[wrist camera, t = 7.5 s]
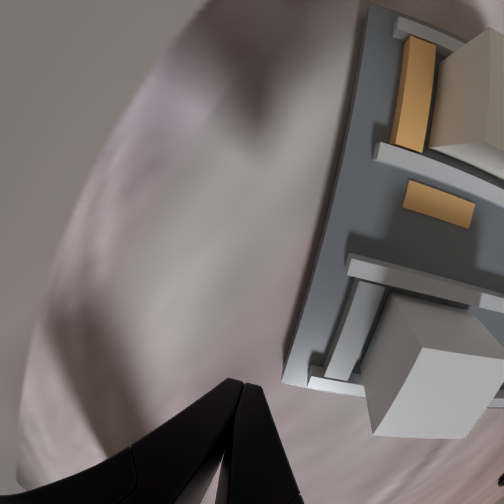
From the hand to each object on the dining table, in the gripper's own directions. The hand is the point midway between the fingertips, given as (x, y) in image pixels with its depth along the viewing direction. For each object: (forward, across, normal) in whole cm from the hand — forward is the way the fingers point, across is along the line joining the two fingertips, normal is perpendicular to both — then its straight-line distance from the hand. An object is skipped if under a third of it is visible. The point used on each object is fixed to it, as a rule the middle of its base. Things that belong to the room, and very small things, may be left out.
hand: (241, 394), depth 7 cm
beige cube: (+5, -6, -9) cm, 12 cm away
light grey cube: (+5, -6, 0) cm, 8 cm away
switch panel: (+6, -9, -4) cm, 12 cm away
